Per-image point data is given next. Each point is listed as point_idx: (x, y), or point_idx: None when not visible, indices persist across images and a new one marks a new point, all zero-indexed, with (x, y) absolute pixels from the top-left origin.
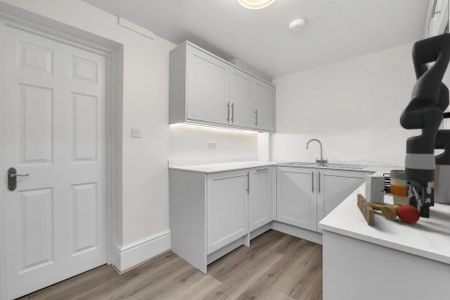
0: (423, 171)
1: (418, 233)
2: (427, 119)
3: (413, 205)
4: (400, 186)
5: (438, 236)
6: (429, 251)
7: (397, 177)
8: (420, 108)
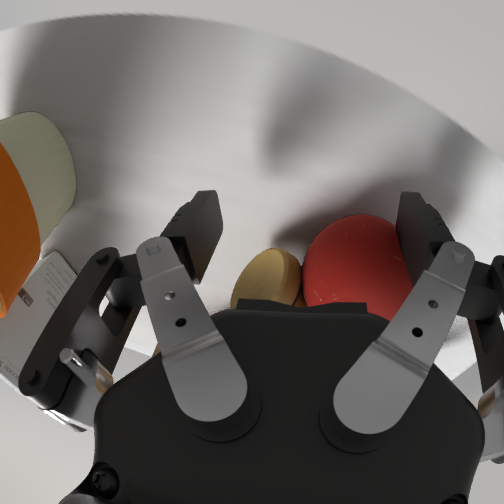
0: None
1: (480, 247)
2: None
3: (208, 231)
4: (4, 302)
5: (500, 187)
6: None
7: None
8: None
